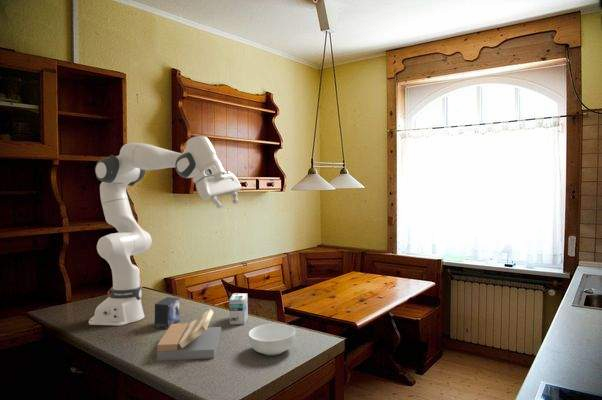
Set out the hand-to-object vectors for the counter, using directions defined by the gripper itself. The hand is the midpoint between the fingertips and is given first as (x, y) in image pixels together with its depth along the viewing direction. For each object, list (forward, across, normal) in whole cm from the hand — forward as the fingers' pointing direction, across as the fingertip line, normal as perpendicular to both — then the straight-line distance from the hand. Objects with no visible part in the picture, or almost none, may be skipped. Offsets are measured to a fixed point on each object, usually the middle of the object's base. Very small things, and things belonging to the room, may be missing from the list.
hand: (228, 205), depth 154 cm
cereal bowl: (+55, +9, -4) cm, 56 cm away
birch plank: (+37, +18, -23) cm, 47 cm away
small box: (+31, +9, -52) cm, 62 cm away
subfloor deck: (+41, +20, -28) cm, 54 cm away
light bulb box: (+44, -10, -33) cm, 56 cm away
